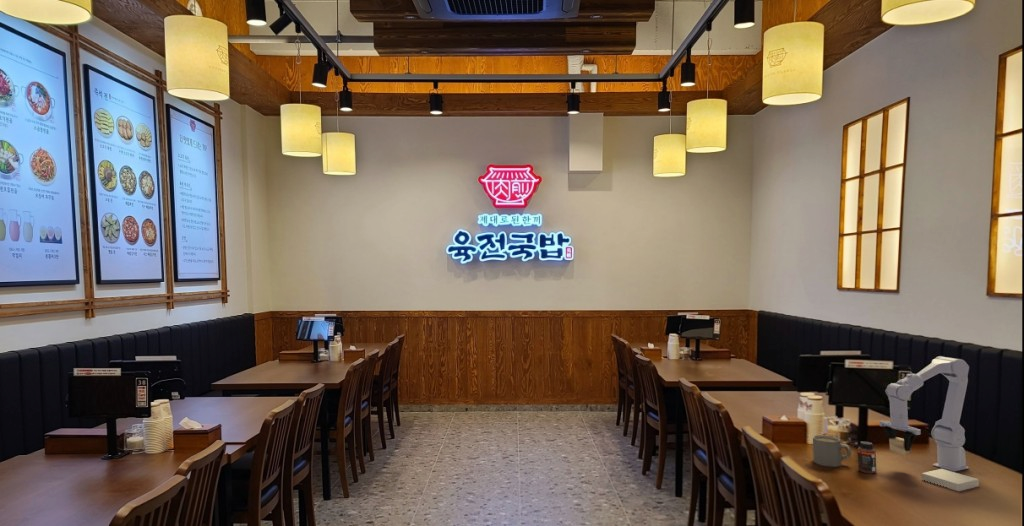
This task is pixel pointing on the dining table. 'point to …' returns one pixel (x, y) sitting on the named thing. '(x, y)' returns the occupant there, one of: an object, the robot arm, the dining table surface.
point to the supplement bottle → (866, 458)
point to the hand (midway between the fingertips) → (900, 448)
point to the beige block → (950, 479)
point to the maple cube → (898, 446)
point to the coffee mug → (829, 451)
